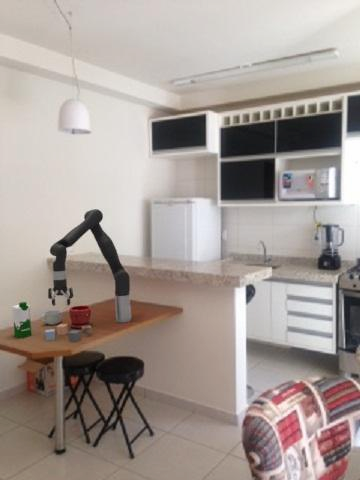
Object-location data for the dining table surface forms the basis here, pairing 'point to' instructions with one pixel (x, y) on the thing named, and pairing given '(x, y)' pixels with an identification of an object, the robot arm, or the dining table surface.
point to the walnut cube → (86, 331)
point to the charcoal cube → (74, 336)
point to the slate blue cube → (50, 334)
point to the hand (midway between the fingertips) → (61, 305)
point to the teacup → (52, 316)
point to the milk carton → (22, 320)
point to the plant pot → (80, 316)
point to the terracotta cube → (62, 329)
